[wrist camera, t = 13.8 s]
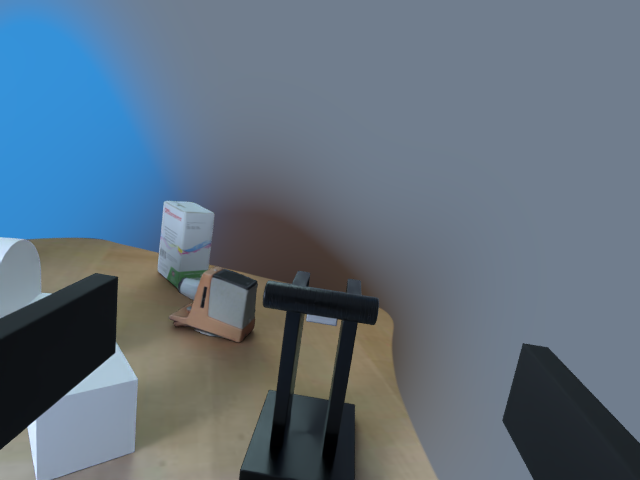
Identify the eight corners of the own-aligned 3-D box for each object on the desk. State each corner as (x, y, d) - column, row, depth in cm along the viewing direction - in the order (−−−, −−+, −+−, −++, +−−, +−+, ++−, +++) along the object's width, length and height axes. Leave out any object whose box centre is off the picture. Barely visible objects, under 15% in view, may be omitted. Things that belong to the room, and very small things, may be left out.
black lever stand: (352, 505, 29) (386, 320, 26) (238, 484, 29) (258, 299, 26) (353, 415, 39) (378, 273, 36) (267, 400, 39) (285, 258, 36)
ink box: (156, 271, 69) (160, 199, 66) (187, 268, 72) (192, 200, 69) (177, 289, 62) (182, 211, 60) (209, 285, 66) (216, 211, 63)
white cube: (134, 452, 31) (138, 379, 30) (36, 485, 27) (35, 403, 26) (113, 406, 35) (116, 341, 34) (27, 429, 32) (26, 357, 30)
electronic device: (186, 312, 55) (190, 257, 53) (255, 330, 53) (262, 273, 51) (167, 325, 51) (171, 266, 49) (241, 345, 49) (248, 284, 47)
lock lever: (375, 337, 20) (381, 285, 20) (258, 318, 20) (268, 268, 20) (357, 328, 32) (361, 297, 33) (286, 317, 33) (291, 286, 33)
